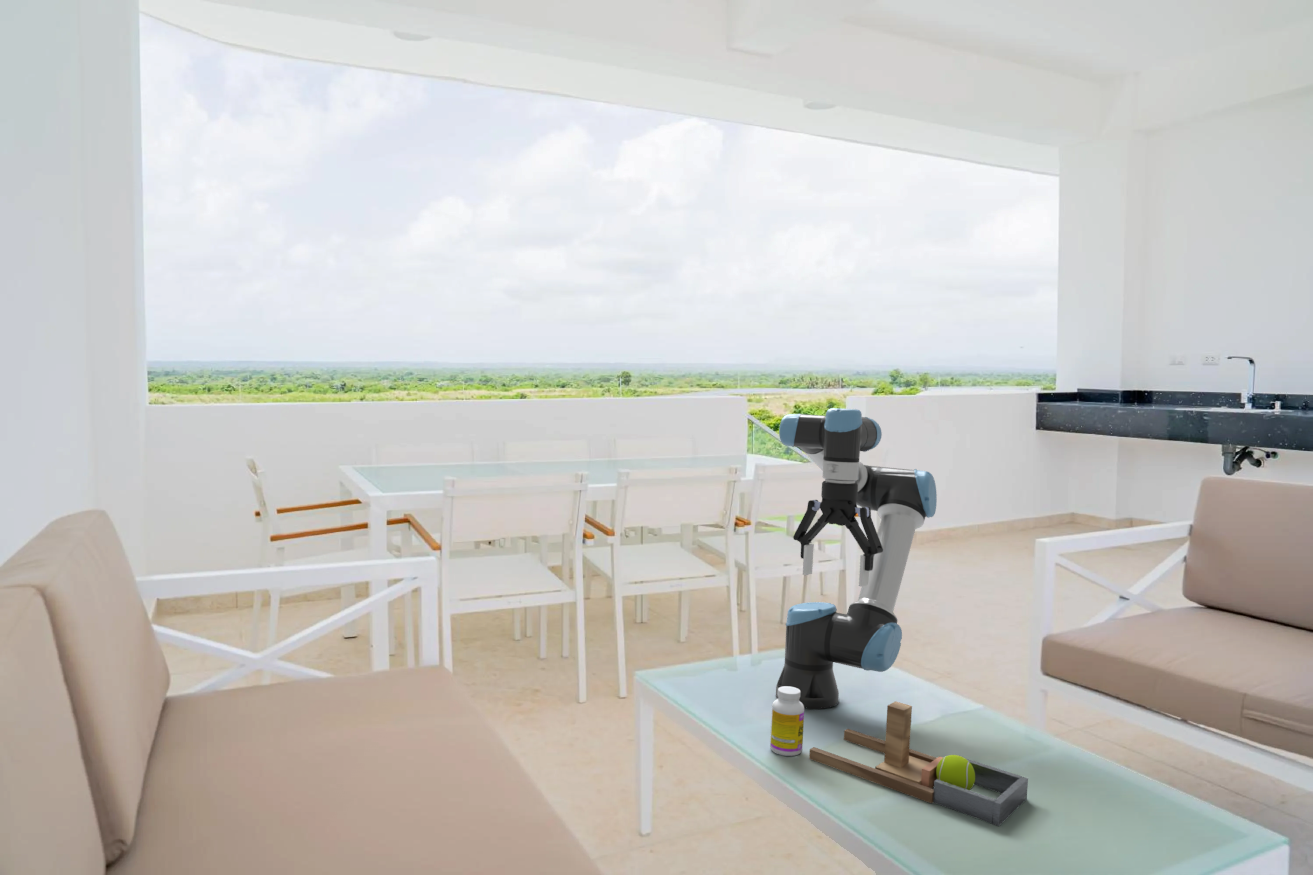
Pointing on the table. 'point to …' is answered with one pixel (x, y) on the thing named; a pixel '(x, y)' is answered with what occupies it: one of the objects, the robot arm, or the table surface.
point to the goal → (979, 804)
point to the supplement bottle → (787, 722)
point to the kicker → (904, 749)
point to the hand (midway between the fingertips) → (834, 579)
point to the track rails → (872, 773)
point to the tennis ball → (956, 771)
